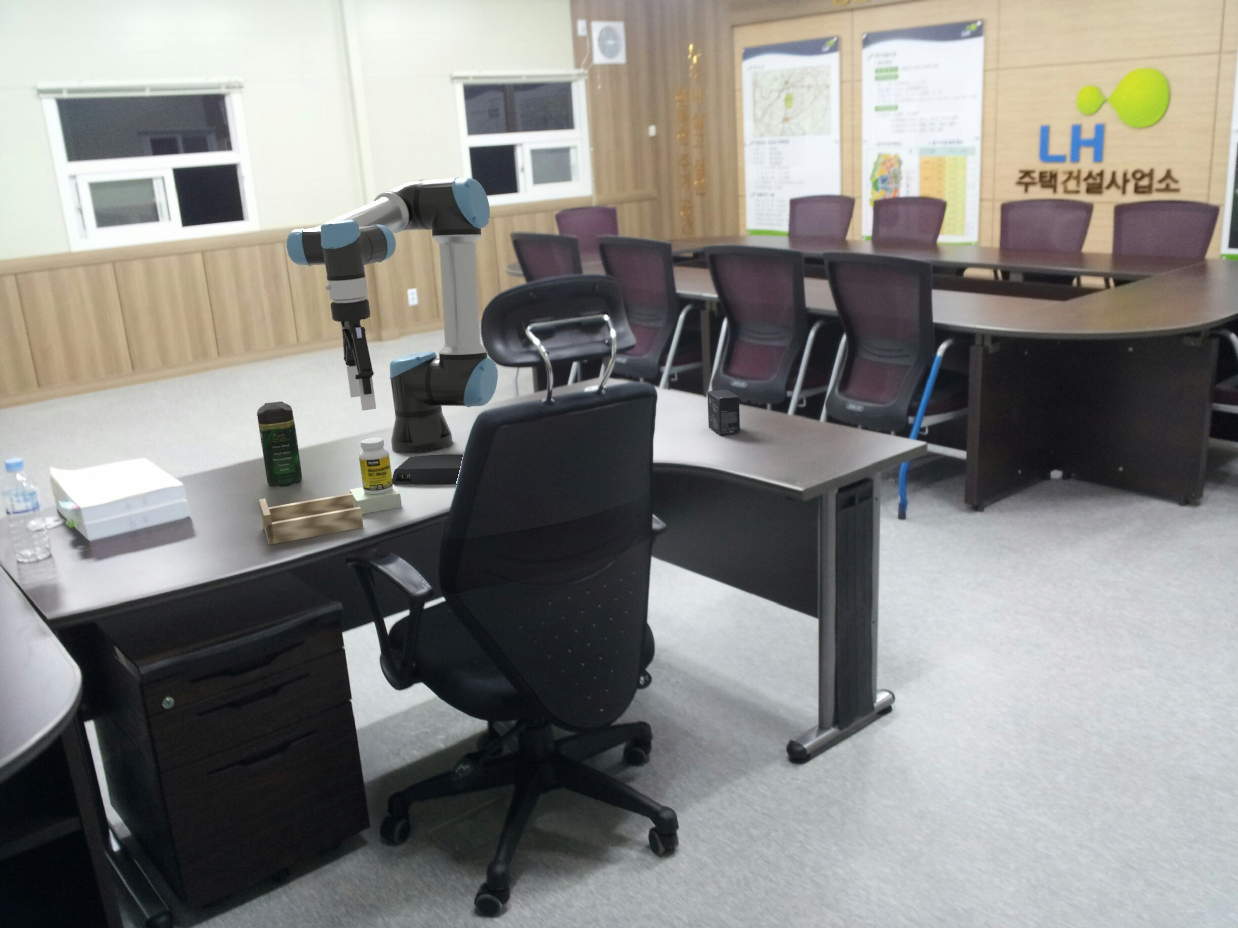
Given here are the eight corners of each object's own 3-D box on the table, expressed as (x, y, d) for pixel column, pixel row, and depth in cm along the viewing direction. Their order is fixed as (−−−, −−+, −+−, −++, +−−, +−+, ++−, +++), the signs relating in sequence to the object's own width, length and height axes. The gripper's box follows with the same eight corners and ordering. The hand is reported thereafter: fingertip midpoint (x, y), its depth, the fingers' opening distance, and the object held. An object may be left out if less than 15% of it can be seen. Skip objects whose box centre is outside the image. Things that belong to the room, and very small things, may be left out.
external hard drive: (410, 469, 254) (408, 453, 253) (489, 469, 251) (487, 452, 250) (390, 487, 242) (388, 469, 241) (473, 486, 239) (471, 468, 238)
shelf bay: (353, 511, 226) (350, 483, 224) (363, 527, 216) (359, 498, 214) (263, 527, 219) (258, 499, 218) (268, 544, 209) (264, 515, 207)
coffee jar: (304, 485, 246) (292, 406, 241) (268, 490, 244) (255, 410, 238) (302, 474, 255) (290, 397, 249) (267, 479, 253) (255, 401, 247)
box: (741, 433, 265) (740, 396, 263) (719, 436, 264) (718, 398, 262) (728, 425, 274) (727, 388, 271) (707, 427, 273) (706, 391, 270)
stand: (393, 495, 235) (391, 482, 234) (401, 506, 226) (400, 493, 226) (351, 502, 231) (349, 489, 230) (358, 514, 223) (356, 501, 222)
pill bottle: (369, 497, 224) (362, 446, 221) (359, 490, 229) (352, 440, 226) (398, 490, 227) (391, 440, 224) (387, 484, 232) (380, 434, 229)
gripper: (321, 295, 226) (335, 393, 232) (340, 309, 204) (355, 418, 210) (357, 291, 229) (370, 388, 235) (379, 304, 207) (393, 412, 213)
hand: (363, 402), depth 223 cm, fingers open, 13 cm apart
